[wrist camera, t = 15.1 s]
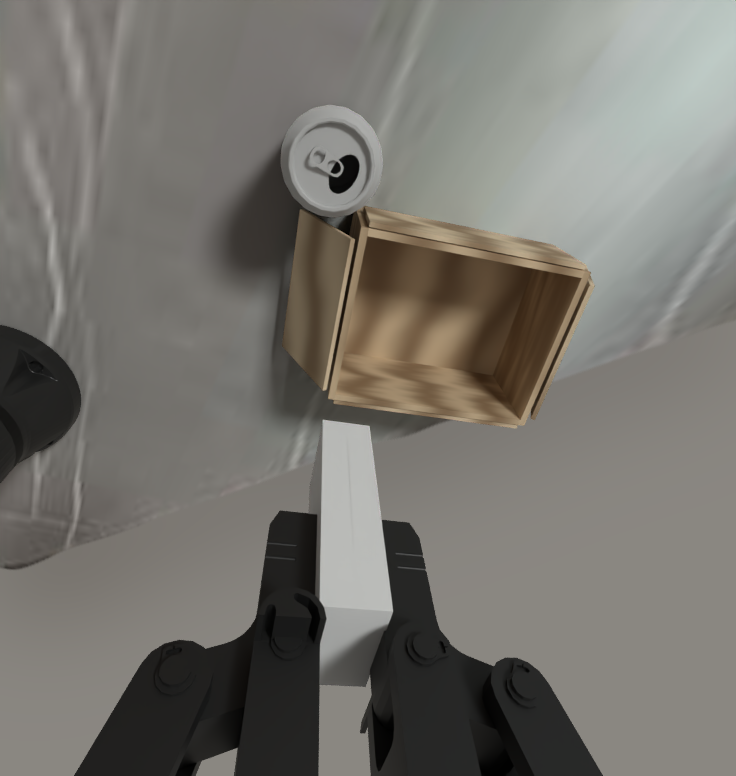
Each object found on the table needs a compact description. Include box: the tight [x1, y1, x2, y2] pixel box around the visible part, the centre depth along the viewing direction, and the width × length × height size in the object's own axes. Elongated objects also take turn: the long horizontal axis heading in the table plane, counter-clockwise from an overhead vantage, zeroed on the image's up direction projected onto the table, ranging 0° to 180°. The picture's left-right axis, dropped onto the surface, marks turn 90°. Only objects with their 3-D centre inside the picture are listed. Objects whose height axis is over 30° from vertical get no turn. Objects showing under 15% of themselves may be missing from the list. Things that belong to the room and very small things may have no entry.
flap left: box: [282, 209, 355, 391], centre depth 45 cm, size 9×14×1 cm
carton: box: [328, 206, 591, 428], centre depth 48 cm, size 20×17×10 cm
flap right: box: [531, 266, 595, 420], centre depth 49 cm, size 9×14×1 cm
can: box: [280, 105, 383, 218], centre depth 39 cm, size 8×8×12 cm
